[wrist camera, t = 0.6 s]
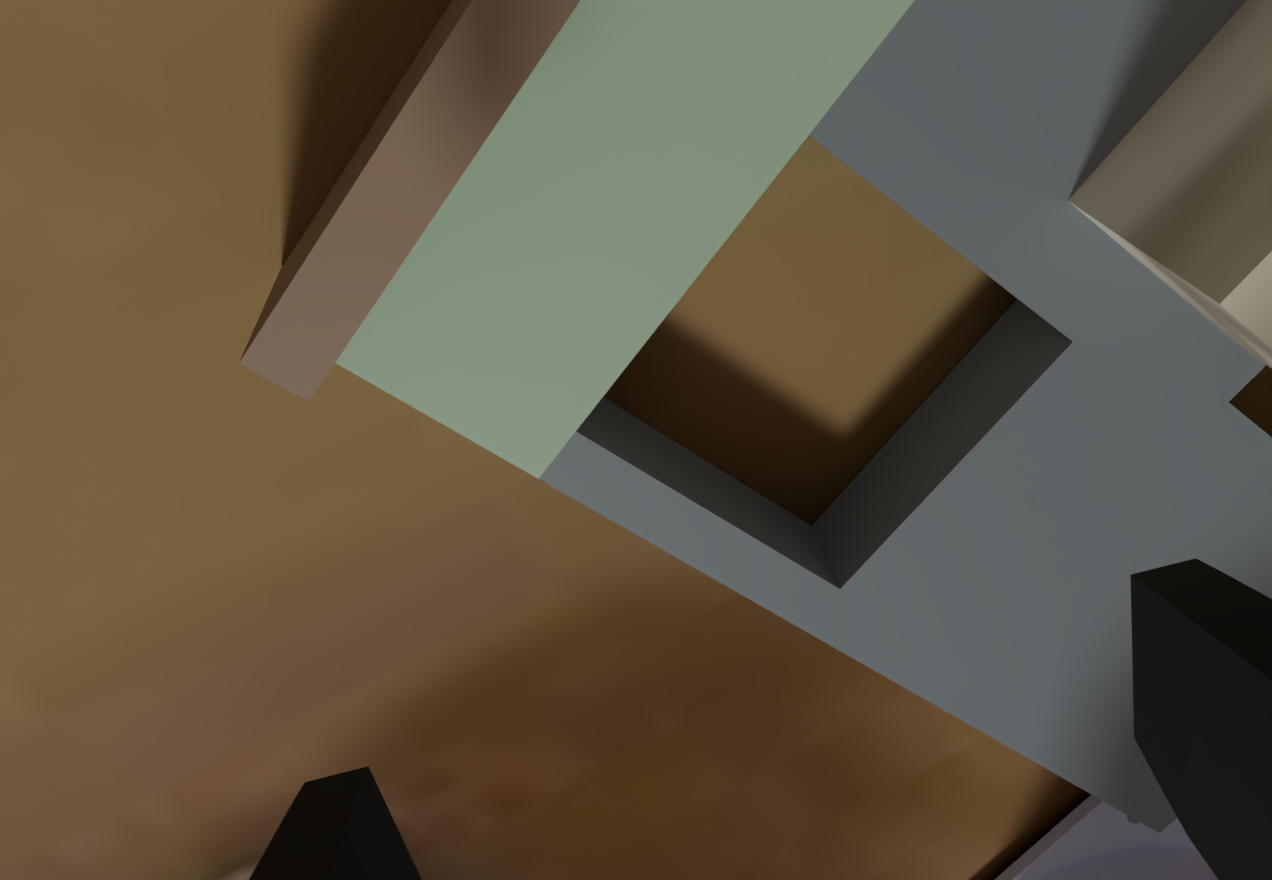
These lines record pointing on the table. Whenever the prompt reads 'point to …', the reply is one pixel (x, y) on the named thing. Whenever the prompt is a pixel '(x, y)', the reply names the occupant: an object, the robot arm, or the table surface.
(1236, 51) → the block
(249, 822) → the table surface
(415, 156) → the board
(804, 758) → the table surface
